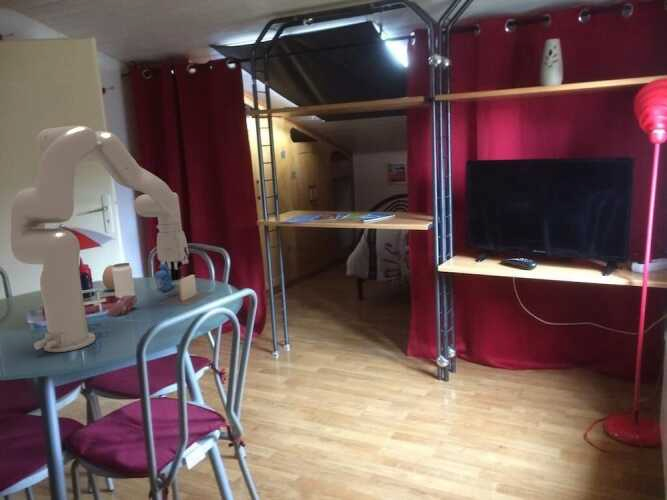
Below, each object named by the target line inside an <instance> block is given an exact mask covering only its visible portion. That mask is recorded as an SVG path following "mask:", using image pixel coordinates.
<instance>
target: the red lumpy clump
mask: <svg viewBox="0 0 667 500" xmlns="http://www.w3.org/2000/svg"><path fill="white" fill-rule="evenodd" d="M137 300H138V297H137V296H136V295H134V296H131V295H129V296H124V297H122V298H121V299H117V301H116V302H115V303H114V305H113V306H112V307H111V308H110V309H109V310H108V312H107V317H116V316H117V315H123V314H125V313H126V312H129V311H131V310H132V308H133V307H134V306H135V305H136V303H137Z"/></svg>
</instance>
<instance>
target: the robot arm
mask: <svg viewBox="0 0 667 500" xmlns="http://www.w3.org/2000/svg"><path fill="white" fill-rule="evenodd" d="M35 146H36V148H37V150H38V153H40V155H41V157H40V160H39V163H38V169H37V179H36V182H37V183H36V187H29V188H28V187H27V188H24V189H21V190H20V191H19V192H18V193H17V194H16V195H15V196H14V198H13V200H12V203H11V206H10V207H11V209H10V247H11V252H12V254H13V256H14V258H15V259H16V260H17V261H18V262H20V263H23V264H26V265H27V264H28V265H41V266H43V267H42V271H41V274H40V279H39V284H40V285H39V286H40V292H41V297H42V299H41V300H42V303H43V309H44V316H45V322H46V328H47V332H46V333H44V338H42V339H41V340H38V341H36V342H34V343H33V348H34V349H35V350H41V349H43V350H44V351H46V352H49V353H61V352H62V353H64V352H69V351H74V350H78V349H81V348H85V347H87V346H89V345H91V344H93V343H94V342H95V341H96V335H95V334H94V333H92V332H89V329H88V328H89V327H88V322H87V314H86V309H85V303H84V301H85V300H84V294H83V290H82V289H83V288H82V281H81V274H80V254H81V253H80V252H81V249H80V247H81V245H80V241H79V239H78V238H77V236H76V235H75V234H74V233H73V232H72V231H70V230H66V229H64V228H46V224H63V223H66V222H68V221H69V220H71V218H72V217H73V215H74V207H75V174H76V170H77V167H78V165H79V164H80V162H84V163H85V162H87V163H88V162H98V163H100V165H101V166H102V167H103V169H104V170H106V172H107V173H108V175H110V176H111V177H112V179H113V181H114V182H115V183H117V184H118V185H120V186H122V187H125V188H127V189H130V190H134V191H138V192H140V193H143V194H141V195H138V196H137V197H136V198H135V200H134V202H133V209H134V211H135V213H136V214H137V215H139V216H140V217H144V218H157V222H158V224H157V225H156V229H157V230H158V232H157V236H156V255H157V259H158V261H159V262H160V264H161V263H162V264H166V265H167V266H168V268H169V269H170V271H171V277H172V281H173V282H174V281H177V282H178V280H180V279H182V272H181V269H182V267H183V266H184V265H186V264H189V259H188V258H189V257H190V255H189V248H188V242H187V238H186V235H185V232H184V231H183V226H182V218H181V209H180V199H179V194H178V193H176V192H173V191H172V190H171V188H170V187H169V185H168V184H167V183H166V182H165V181H163V180H162V179H161V178H159V176H156V175H155V174H153V173H152V172H150V171H148V170H146V169H145V168H143V167H142V166H140V165H139V164H138V163H137V161H136V159H135V158H133V156H132V155H131V153H130V152H129V150H127V148H126V147H125V145H124V144H123V143H122V141H121V140H120V139H119V137H117V135H115V134H114V133H113V132H111V131H106V130H104V131H103V130H102V131H101V130H99V131H94V130H93V128H91V127H89V126H86V125H67V126H60V127H50V128H49V127H48V128H45V129H42V130H41V131H39V133H38V134H37V136H36V139H35Z"/></svg>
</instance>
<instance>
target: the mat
mask: <svg viewBox="0 0 667 500" xmlns="http://www.w3.org/2000/svg"><path fill="white" fill-rule="evenodd" d="M196 293H197V294H196V295H194V296H192V297H190V298H188V299H186V300H184V301H180V295H179V293H178V294H177V295H174V296H172V297H170V298H168V299H166V300H164V301H162V302H159V303H158V304H159V305H171V306H172V305H173V306H174V305H175V306H176V305H178V306H191V305H193V304H195V303H196V302H199V301H200V300H203V299H204V298H206V297H208V296H211V295H212V294H214V293H215V291H199V290H196Z"/></svg>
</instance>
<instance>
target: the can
mask: <svg viewBox="0 0 667 500" xmlns="http://www.w3.org/2000/svg"><path fill="white" fill-rule="evenodd" d="M112 273H113V281H114V288H115V290H114V295H115V297H116V296H117V297H119V298H122V297H124V296H129V295H131V296H136V292H135V286H134V284H135V283H134V277H133V269H132V267H131V265H130V263H129V262H121V263H115V264H113V269H112Z"/></svg>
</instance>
